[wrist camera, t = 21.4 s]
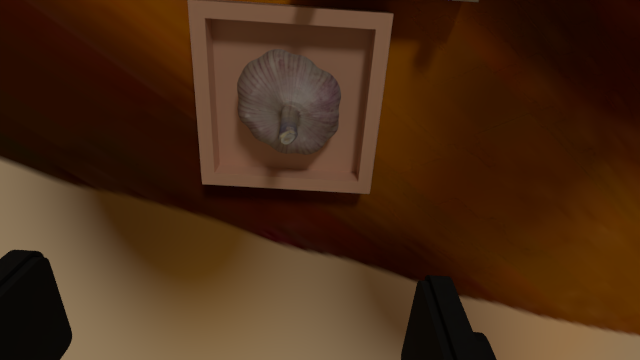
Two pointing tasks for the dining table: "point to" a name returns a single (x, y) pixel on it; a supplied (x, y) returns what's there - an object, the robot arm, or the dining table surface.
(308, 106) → the garlic bulb
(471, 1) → the peg rest
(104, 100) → the dining table surface
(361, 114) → the terracotta dish
